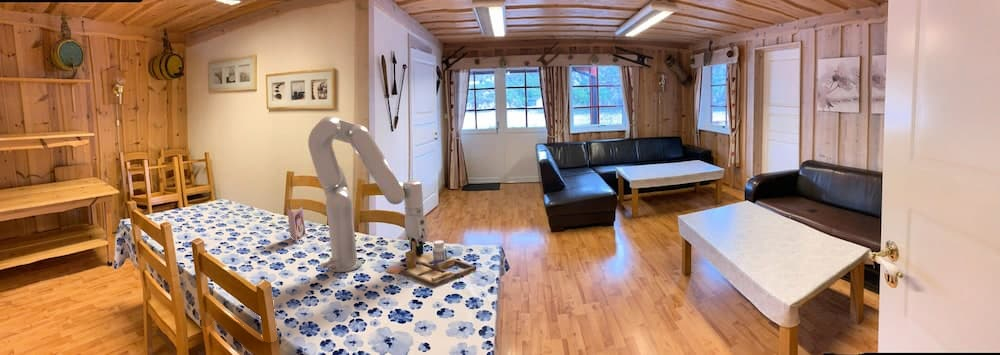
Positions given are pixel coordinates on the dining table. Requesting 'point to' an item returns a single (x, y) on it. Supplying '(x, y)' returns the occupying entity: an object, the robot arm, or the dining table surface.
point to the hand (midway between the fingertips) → (417, 253)
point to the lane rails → (440, 274)
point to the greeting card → (296, 224)
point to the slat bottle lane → (431, 258)
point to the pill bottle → (439, 252)
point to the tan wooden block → (412, 264)
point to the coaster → (395, 269)
